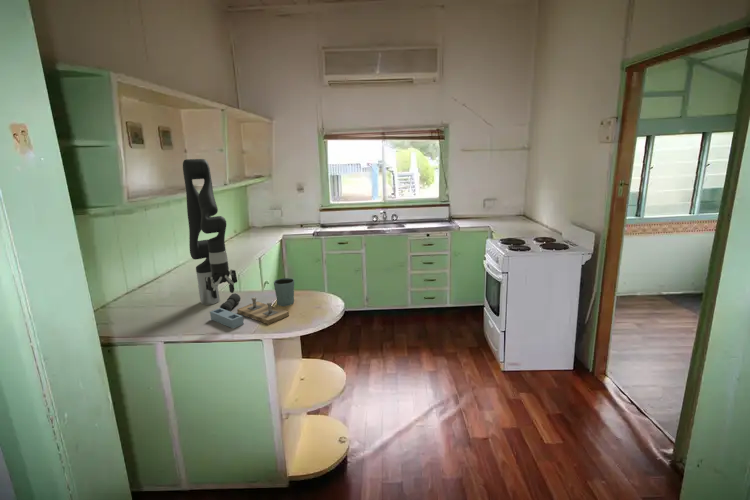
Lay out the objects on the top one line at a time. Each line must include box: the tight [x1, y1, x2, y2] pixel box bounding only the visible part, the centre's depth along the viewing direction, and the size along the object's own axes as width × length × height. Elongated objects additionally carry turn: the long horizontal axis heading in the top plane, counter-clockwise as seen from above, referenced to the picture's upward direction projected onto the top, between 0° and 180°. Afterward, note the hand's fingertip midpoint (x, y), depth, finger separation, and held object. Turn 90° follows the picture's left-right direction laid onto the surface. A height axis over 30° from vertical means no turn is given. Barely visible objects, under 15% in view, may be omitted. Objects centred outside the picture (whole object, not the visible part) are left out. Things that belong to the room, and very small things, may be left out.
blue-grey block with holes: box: [209, 307, 245, 329], centre depth 189 cm, size 18×6×4 cm, turn 52°
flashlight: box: [219, 292, 241, 312], centre depth 205 cm, size 15×5×5 cm, turn 179°
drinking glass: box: [273, 277, 295, 307], centre depth 208 cm, size 10×10×12 cm
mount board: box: [236, 296, 290, 325], centre depth 195 cm, size 24×12×7 cm, turn 52°
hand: (223, 295), depth 186 cm, fingers open, 8 cm apart
